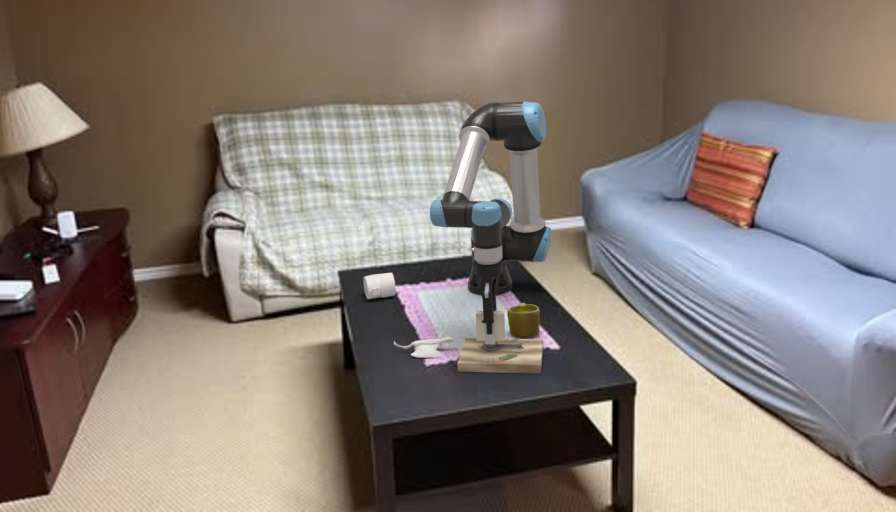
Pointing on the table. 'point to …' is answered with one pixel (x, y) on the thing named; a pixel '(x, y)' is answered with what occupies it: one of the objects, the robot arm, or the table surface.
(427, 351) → the winged dragon toy
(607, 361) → the table surface
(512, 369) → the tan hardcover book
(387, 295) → the white cylinder
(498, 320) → the white upright block
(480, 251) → the robot arm
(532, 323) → the mug
